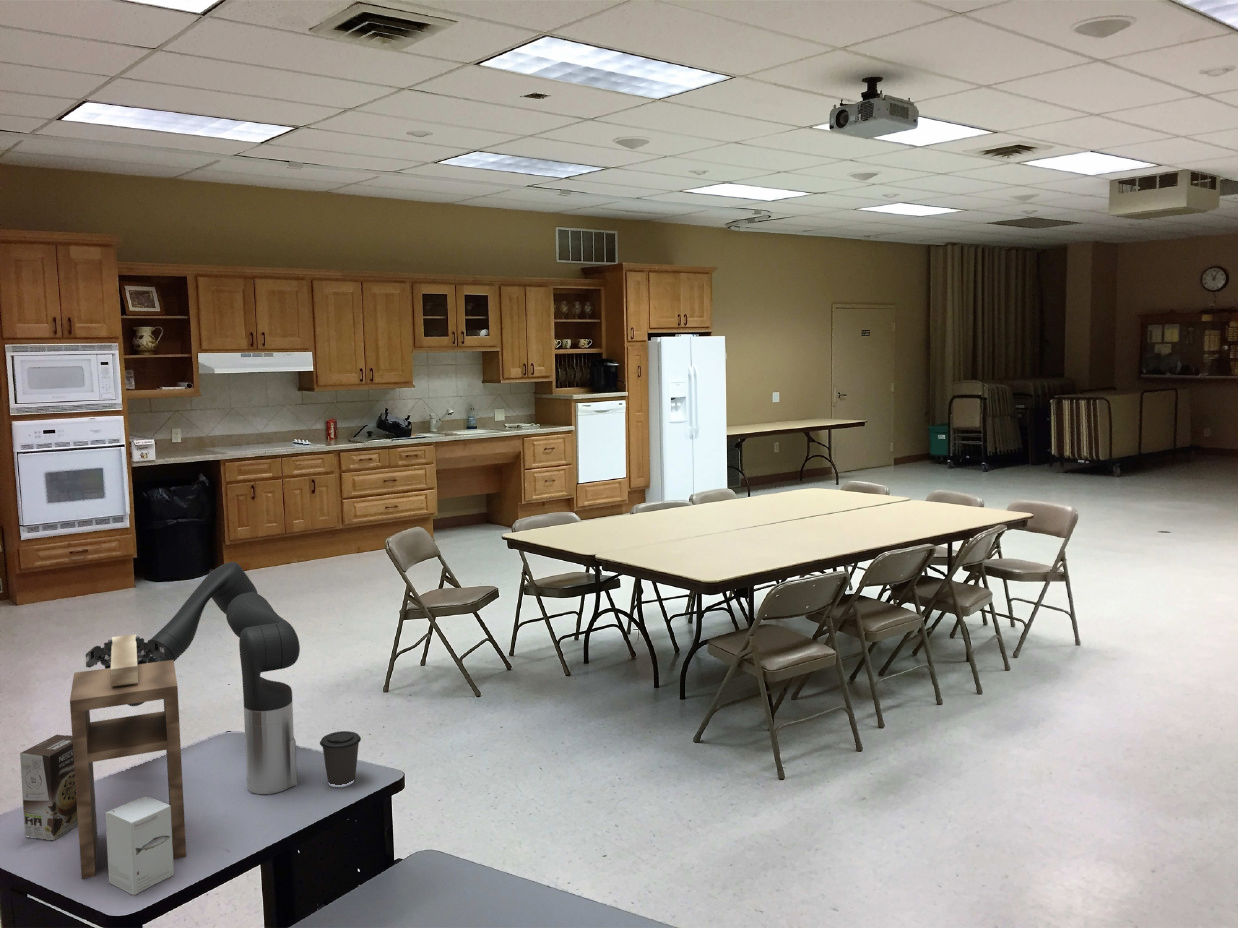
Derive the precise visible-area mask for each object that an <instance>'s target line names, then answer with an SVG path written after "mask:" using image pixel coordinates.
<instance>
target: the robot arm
mask: <svg viewBox="0 0 1238 928" xmlns="http://www.w3.org/2000/svg"><path fill="white" fill-rule="evenodd" d="M210 599H212V600H213V602H214V603H215V604H216V606H217V608H218V609H219V610H221V612H223V614H225V617H226V622H227V623H228V625H229V628H230V629H231V631H232V632H233V633H234V635H235V636H236V637H238V638H239V639H238V640H239V641H238V642H239V643H238V645H239V657H240V667H241V677H242V679H241V680H242V692H243V693H242V694H243V695H242V698H243V716H244V717H243V721H244V740H245V742H244V744H245V745H244V746H245V764H246V765H245V766H246V767H245V768H246V785H247V787H246V788H247V790H248V791H249V792H250V793H253V794H258V795H270V794H271V795H272V794H277V793H280V792H283V791H286V790H288V789H290V788H291V787H295V785H296V786H298V771H297V770H298V769H297V767H298V766H297V744H296V739H295V735H294V734H295V732H294V711H293V710H294V708H293V706H294V705H293V690H292V687H291V685H288V684H287V683H285V682H281V681H276V680H270V679H267V678H264V677H262V676H261V674H262V673H266V672H272V671H278V670H282V669H287V668H290V667H292V666H294V664H296V662H297V661H298V659H299V656H300V650H301V646H300V641H299V637H298V635H297V632H296V630H295V628H294V626H293V625H291V623H289V622H288V621H287V620H286V619H284V618H283V617H281V616H280V615H278V613H277V612H276V611H275V610H274V609H273V607H272V605H271V604H270V603H269V601H268V600H267V599H266V598H265V597H264V596H262V595H261V594H259V593H258V590H257V587H256V586H255V584H254V583H253V582H252V580H251V578H249V576H248V574H247V573H246V572H245V570H244V569H243V568H242V566H241V565H240V564H239V563H238V562H235V561H230V562H225V563H224V564H221V565H220V566H217V567H216V568H215V569H213V570H212V571H211V572H210V573H208V574H207V576H206V577H204V579H203V580H202V581H201V583H200V584H199V585H198V586H197V587H196V589H194V591H193V593H191V595H190V596H189V597H188V598H187V600H186V601H185V602H184V603H183V604H182V605H181V607H180V609H179V610H178V611H177V612H176V614H175V615H174V616H173V617H171V619H170V620H169V621H168V622H167V623H166V624H165V625H164V626H163V627H162V628H161V629H160V630H159V631H158V632H157V633H156V634H155V635H154V636H152V637H151V638H150V639H149V640H147V642H145V638H142V637H141V638H140V636H136V637H135V638H136V646H137V665H138V664H145V663H153V662H161V661H169V660H174V662H175V661H177V659H179V658H180V656H182V655H183V654H184V653H185V652H186V651H187V649H189V647H190V646H191V644H192V642H193V641H194V638H195V636H196V633H197V630H198V626H199V624H200V621H201V617H202V614H203V611H204V609H205V607H206V605H207V604H208V602H209V601H210ZM111 650H112V639H108V640H107V642H104V643H103V646H102V647H101V645H95V646H93V647H92V648H91V649H90V650H88V651H87V652H86V653H85V668H89V669H90V668H92V667H94V666H97V665H98V663H100V665H102V666H103V667H104V669H107V668H111ZM144 703H145V702H140V703H134V704H127V705H128V706H129V707H138V706H141V705H143V704H144Z"/></svg>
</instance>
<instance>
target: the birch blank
mask: <svg viewBox="0 0 1238 928" xmlns="http://www.w3.org/2000/svg"><path fill="white" fill-rule="evenodd" d="M135 637H137V634H136V633H135V634H127V635H119V636H112V637H111V640H112V650H111V683H112V686H119V685H126V684H134V683H138V665H137V646H136V638H135Z"/></svg>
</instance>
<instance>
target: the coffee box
mask: <svg viewBox="0 0 1238 928" xmlns="http://www.w3.org/2000/svg"><path fill="white" fill-rule="evenodd" d="M19 758H20V775H21V777H20V778H21V790H22V793H21V794H22V807H23V810H22V811H23V821H24V822H23V824H24V825H23V826H24V837H25V836H29V837H35V838H34V839H36V838H40V839H39V840H43V839H46V840H45V841H50V840H53V841H56V840H57V839H59V838H60V837H61V836H63V835H65V834H66V833H68V832H70V831H71V830H72V829H74V828H76V827H78V816H77V801H76V786H75V771H74V756H73V741H72V735H62V734H55V735H53V736H52V737H49V738H47V739H45V740H44V741H42V742H39V743H38V744H35V745H34V746H31V747H30V748H27V749H26V750H24V751H22V752H19ZM55 839H56V840H55Z"/></svg>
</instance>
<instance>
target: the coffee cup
mask: <svg viewBox="0 0 1238 928" xmlns="http://www.w3.org/2000/svg"><path fill="white" fill-rule="evenodd" d="M361 741H362V737H361V736H360V734H359V733H357V732H354V731H350V730H347V731H346V730H344V731H335V732H332V733H328V734H326V735H324V736H323V737H321V740H320V741H319V745H320V747H321V748H322V751H323V759H324V764H325V766H324V767H325V770H326V778H327V779H326V780H327V783H328V782H329V783H330V784H335V785H342V784H347V783H349V782H351V781H353V780H354V779H355V780H356V778H355V777H356V776H357V775H356V774H357V765H358V754H359V744H360V742H361Z"/></svg>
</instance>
